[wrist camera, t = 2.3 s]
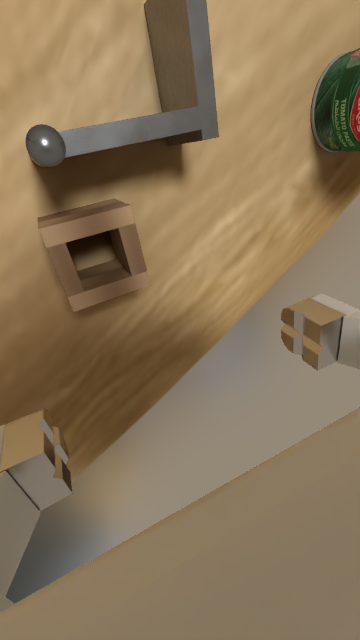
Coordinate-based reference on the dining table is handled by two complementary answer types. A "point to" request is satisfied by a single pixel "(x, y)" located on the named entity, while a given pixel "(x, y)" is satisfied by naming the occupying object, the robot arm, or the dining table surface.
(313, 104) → the canned tomato
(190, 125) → the bent rail
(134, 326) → the dining table surface
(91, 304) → the brown hollow square block
